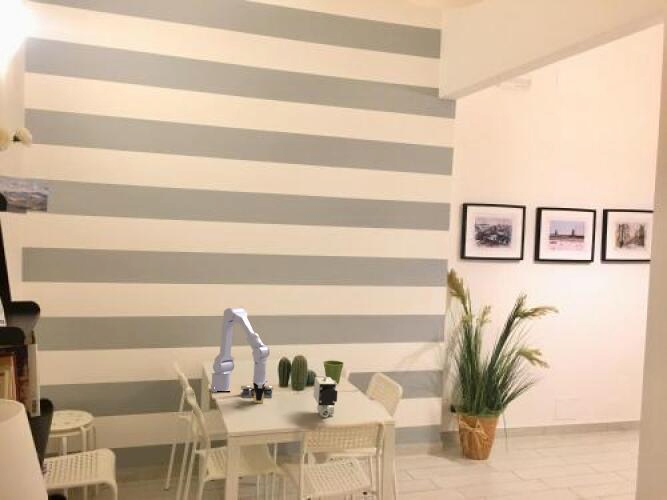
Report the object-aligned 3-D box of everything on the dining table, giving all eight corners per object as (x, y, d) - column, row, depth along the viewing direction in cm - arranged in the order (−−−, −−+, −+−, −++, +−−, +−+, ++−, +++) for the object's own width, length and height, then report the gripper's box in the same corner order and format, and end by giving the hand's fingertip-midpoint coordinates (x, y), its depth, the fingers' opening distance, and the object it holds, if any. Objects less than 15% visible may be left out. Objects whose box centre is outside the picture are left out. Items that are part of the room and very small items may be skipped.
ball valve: (337, 421, 269) (339, 381, 268) (318, 421, 267) (321, 381, 267) (329, 409, 287) (331, 371, 286) (312, 409, 285) (314, 371, 284)
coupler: (253, 403, 289) (254, 391, 289) (253, 400, 293) (254, 389, 293) (263, 403, 290) (263, 391, 290) (262, 400, 294) (263, 389, 294)
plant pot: (343, 380, 341) (345, 361, 341) (342, 386, 329) (343, 365, 329) (323, 379, 342) (324, 359, 342) (320, 384, 330) (321, 364, 330)
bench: (241, 397, 297) (241, 388, 297) (240, 392, 307) (240, 383, 306) (273, 397, 300) (274, 388, 300) (272, 392, 310) (272, 383, 309)
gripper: (269, 375, 284) (267, 403, 285) (267, 367, 299) (265, 394, 299) (254, 374, 283) (252, 403, 284) (252, 367, 297) (251, 394, 298)
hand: (258, 399), depth 291 cm, fingers closed on coupler, 4 cm apart
